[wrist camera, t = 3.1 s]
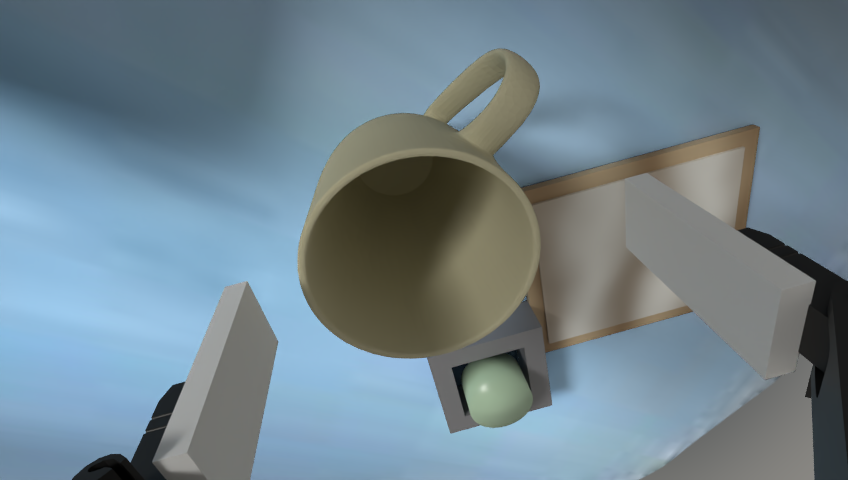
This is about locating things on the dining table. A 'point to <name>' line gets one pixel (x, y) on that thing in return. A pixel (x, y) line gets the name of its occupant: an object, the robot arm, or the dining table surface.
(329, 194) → the mug
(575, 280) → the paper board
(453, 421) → the button housing
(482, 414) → the button
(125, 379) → the dining table surface
